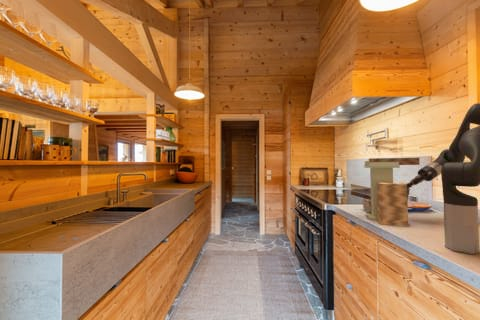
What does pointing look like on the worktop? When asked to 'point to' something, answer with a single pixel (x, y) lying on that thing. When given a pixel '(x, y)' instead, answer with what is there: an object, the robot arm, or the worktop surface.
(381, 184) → the block
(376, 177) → the t-shaped pedestal stand
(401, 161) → the walnut rod
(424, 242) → the worktop surface
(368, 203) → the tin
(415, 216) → the worktop surface
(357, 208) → the worktop surface
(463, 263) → the worktop surface
